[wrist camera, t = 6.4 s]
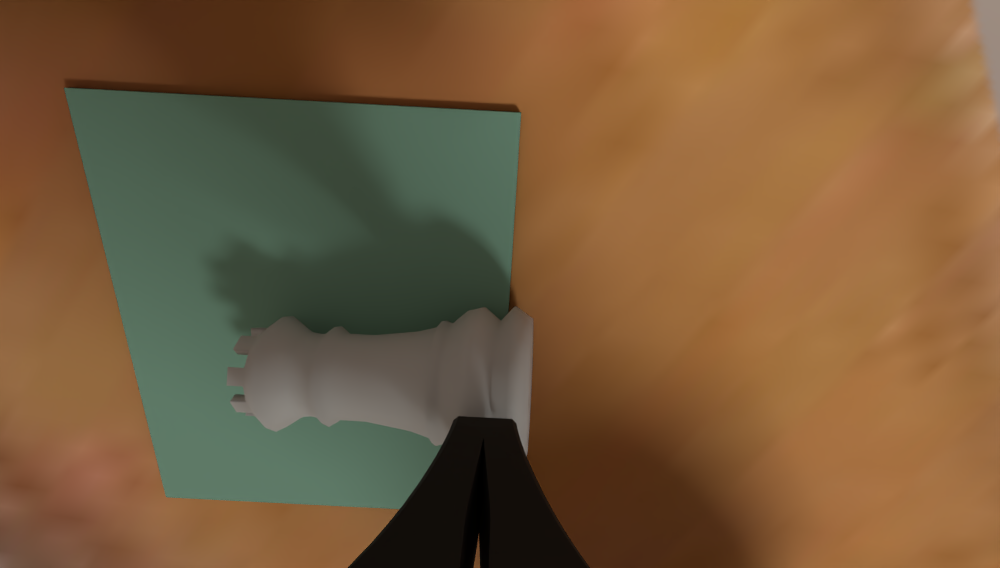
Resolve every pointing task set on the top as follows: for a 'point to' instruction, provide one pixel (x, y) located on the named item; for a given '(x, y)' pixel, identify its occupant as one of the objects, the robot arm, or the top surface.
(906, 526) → the top surface
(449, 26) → the top surface
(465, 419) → the robot arm
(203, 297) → the felt mat
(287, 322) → the rook chess piece
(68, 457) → the top surface
